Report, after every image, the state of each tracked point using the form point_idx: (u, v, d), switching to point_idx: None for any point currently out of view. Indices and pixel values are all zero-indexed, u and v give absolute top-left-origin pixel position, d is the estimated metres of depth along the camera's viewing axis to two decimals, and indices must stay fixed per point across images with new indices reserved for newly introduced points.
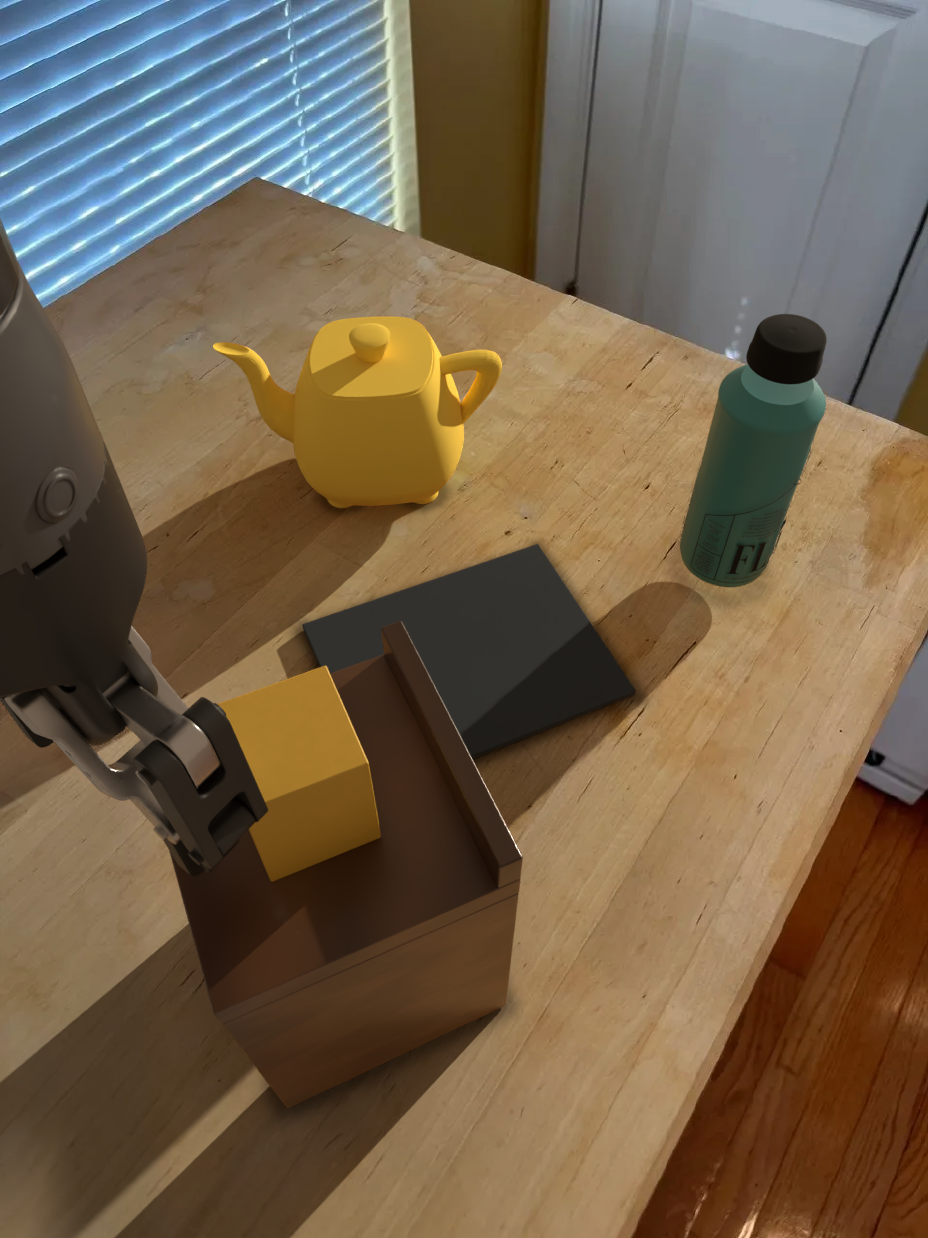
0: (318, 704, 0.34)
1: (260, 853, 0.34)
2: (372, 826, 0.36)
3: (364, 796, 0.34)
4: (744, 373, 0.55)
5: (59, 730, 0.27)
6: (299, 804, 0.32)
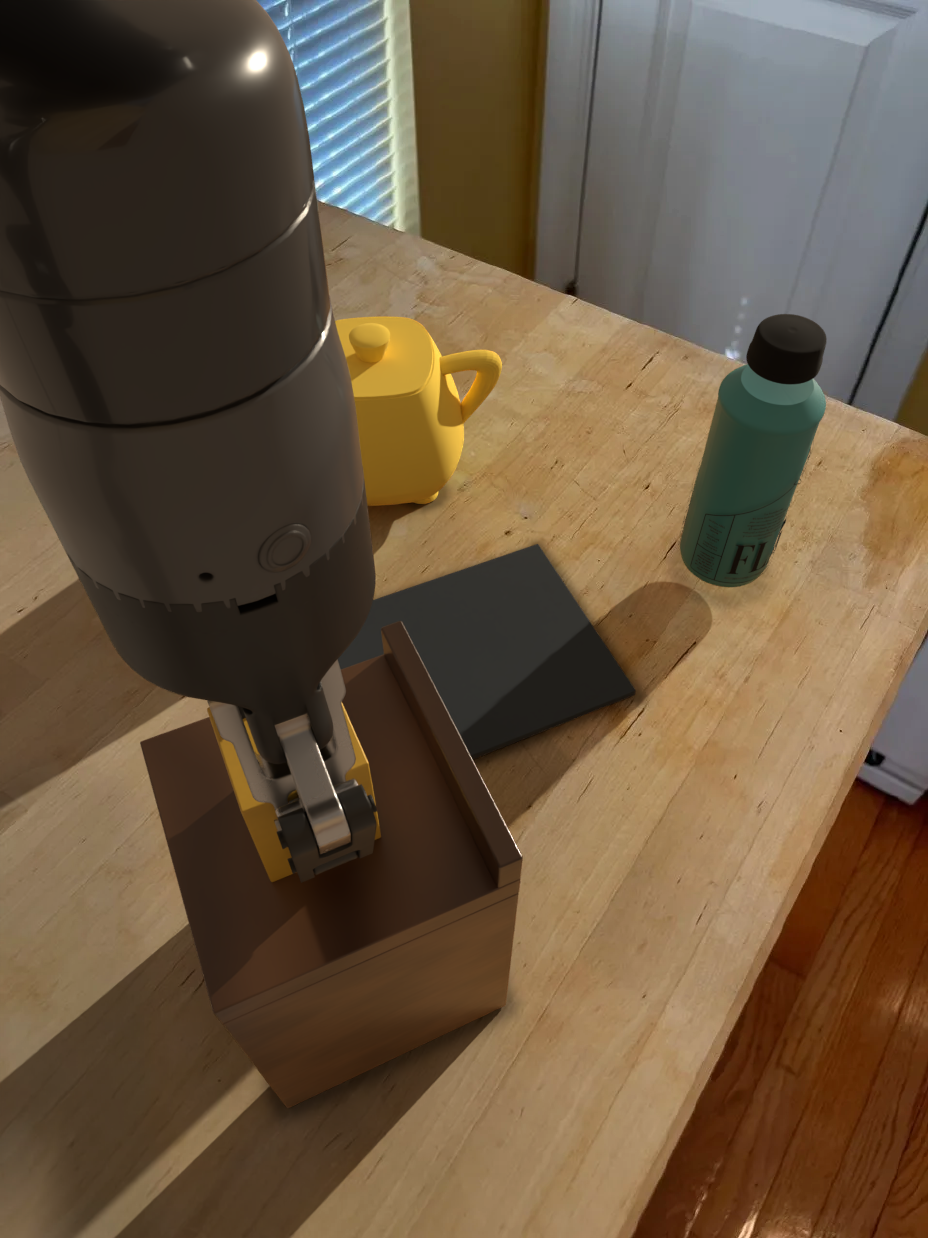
0: None
1: (260, 853, 0.34)
2: None
3: None
4: (744, 373, 0.55)
5: (235, 735, 0.28)
6: None
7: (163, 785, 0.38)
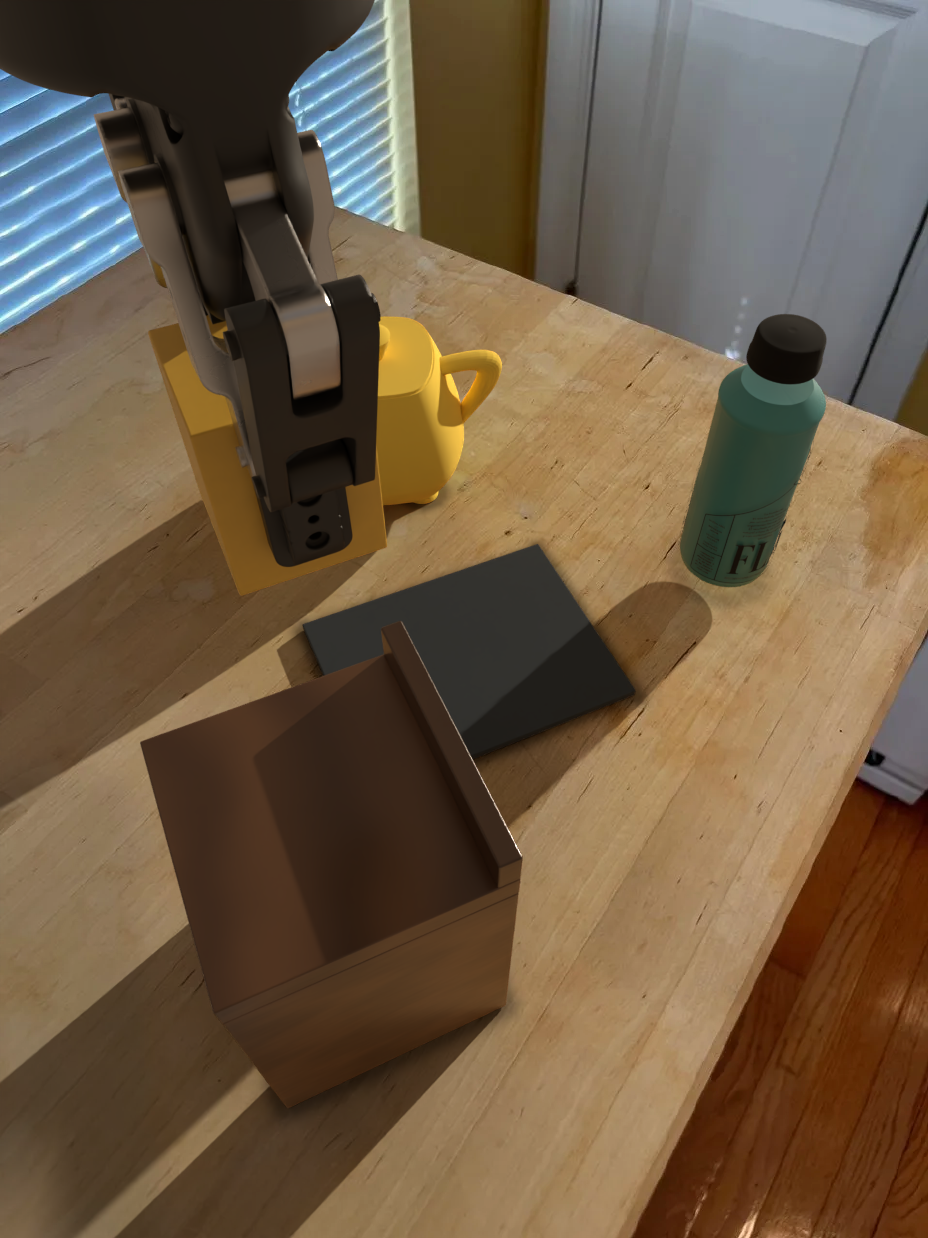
0: None
1: (222, 533, 0.25)
2: (375, 521, 0.27)
3: None
4: (744, 373, 0.55)
5: (169, 255, 0.19)
6: None
7: (163, 785, 0.38)
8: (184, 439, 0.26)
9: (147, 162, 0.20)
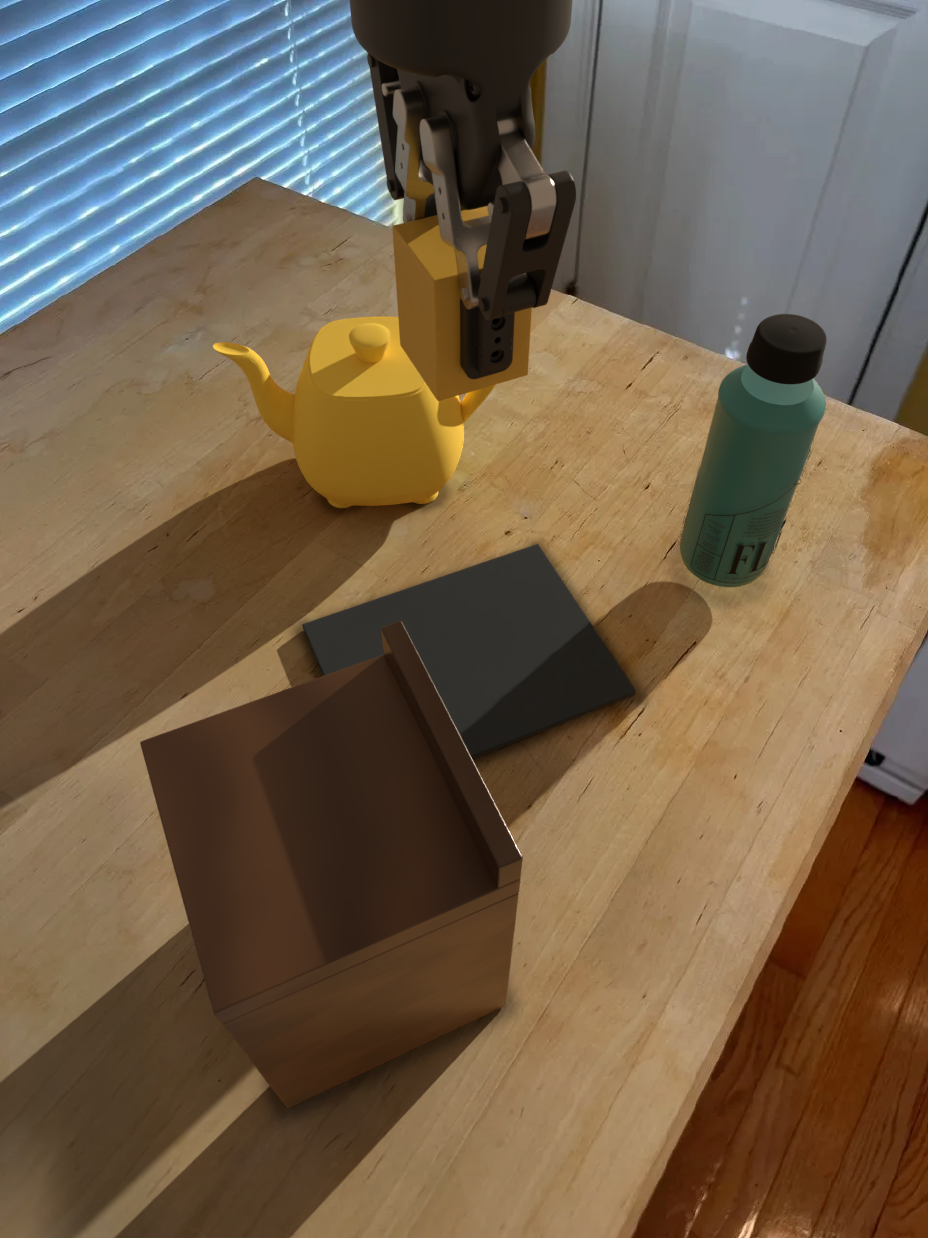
0: None
1: (437, 351, 0.40)
2: (523, 353, 0.42)
3: None
4: (744, 373, 0.55)
5: (446, 166, 0.34)
6: None
7: (163, 785, 0.38)
8: (407, 297, 0.41)
9: (423, 117, 0.35)
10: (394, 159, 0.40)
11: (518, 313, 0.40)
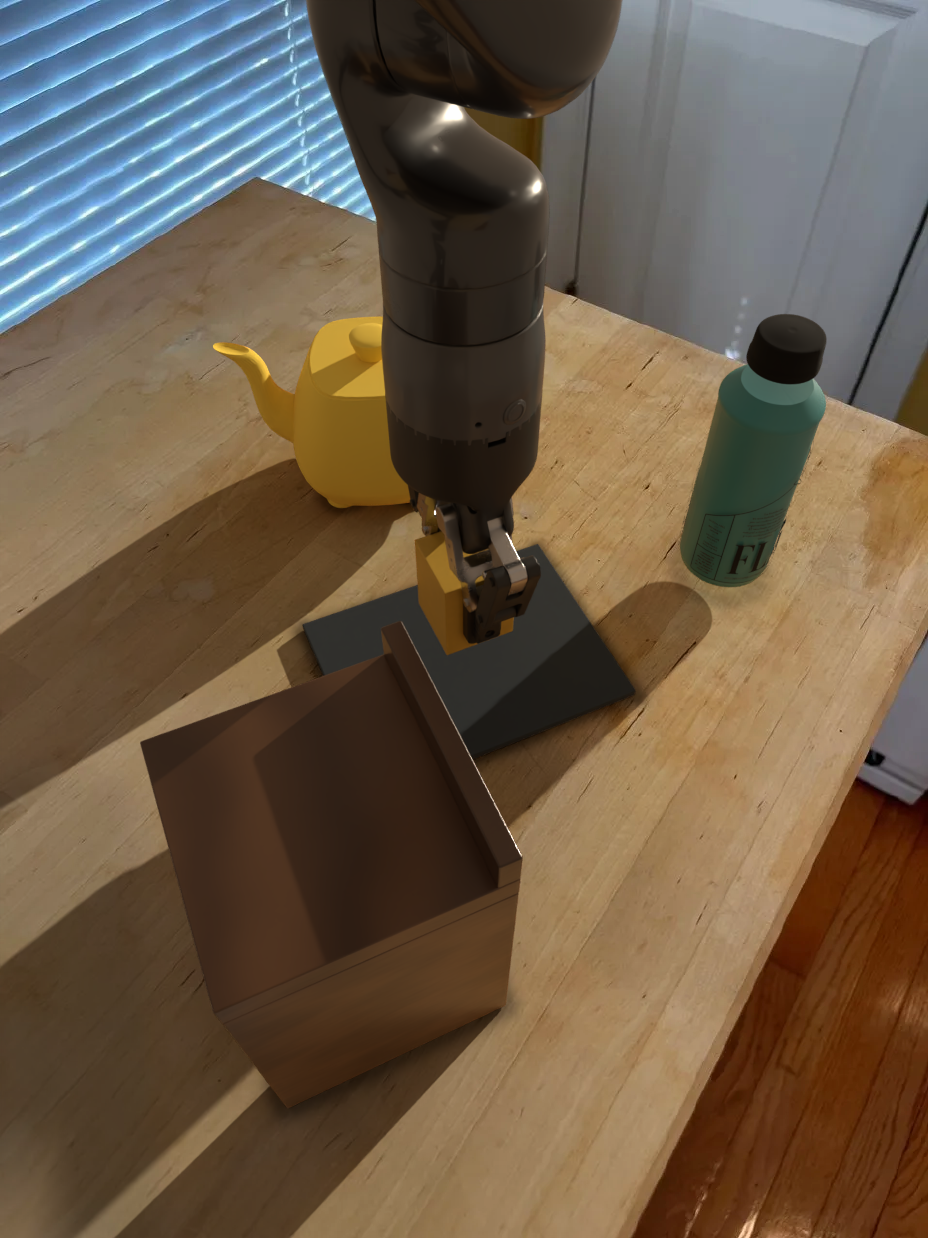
0: None
1: (446, 629, 0.55)
2: (509, 620, 0.57)
3: None
4: (744, 373, 0.55)
5: (454, 536, 0.49)
6: None
7: (163, 785, 0.38)
8: (425, 584, 0.56)
9: None
10: None
11: None
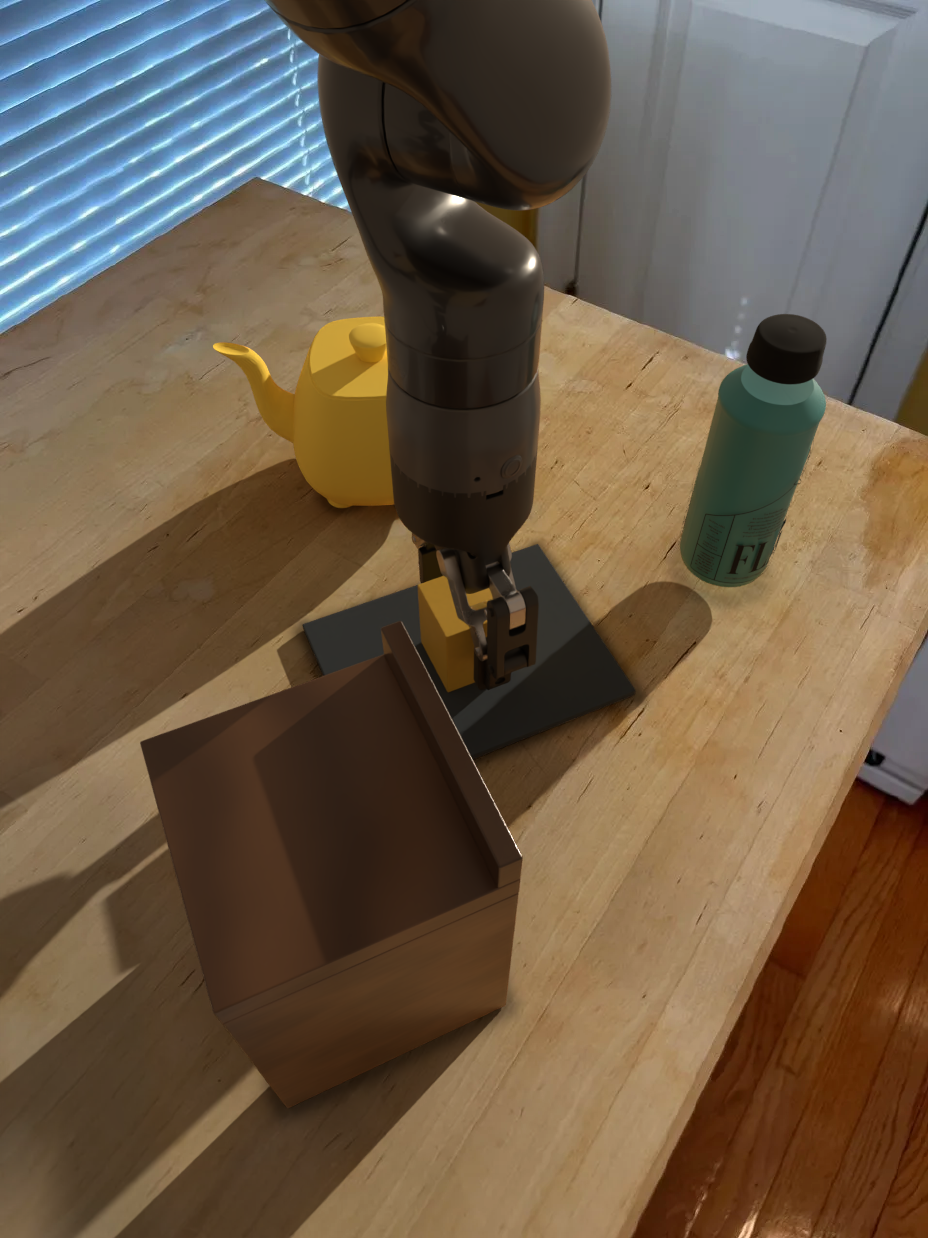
0: None
1: (447, 669, 0.58)
2: None
3: None
4: (744, 373, 0.55)
5: (455, 576, 0.51)
6: None
7: (163, 785, 0.38)
8: (427, 626, 0.59)
9: None
10: None
11: None
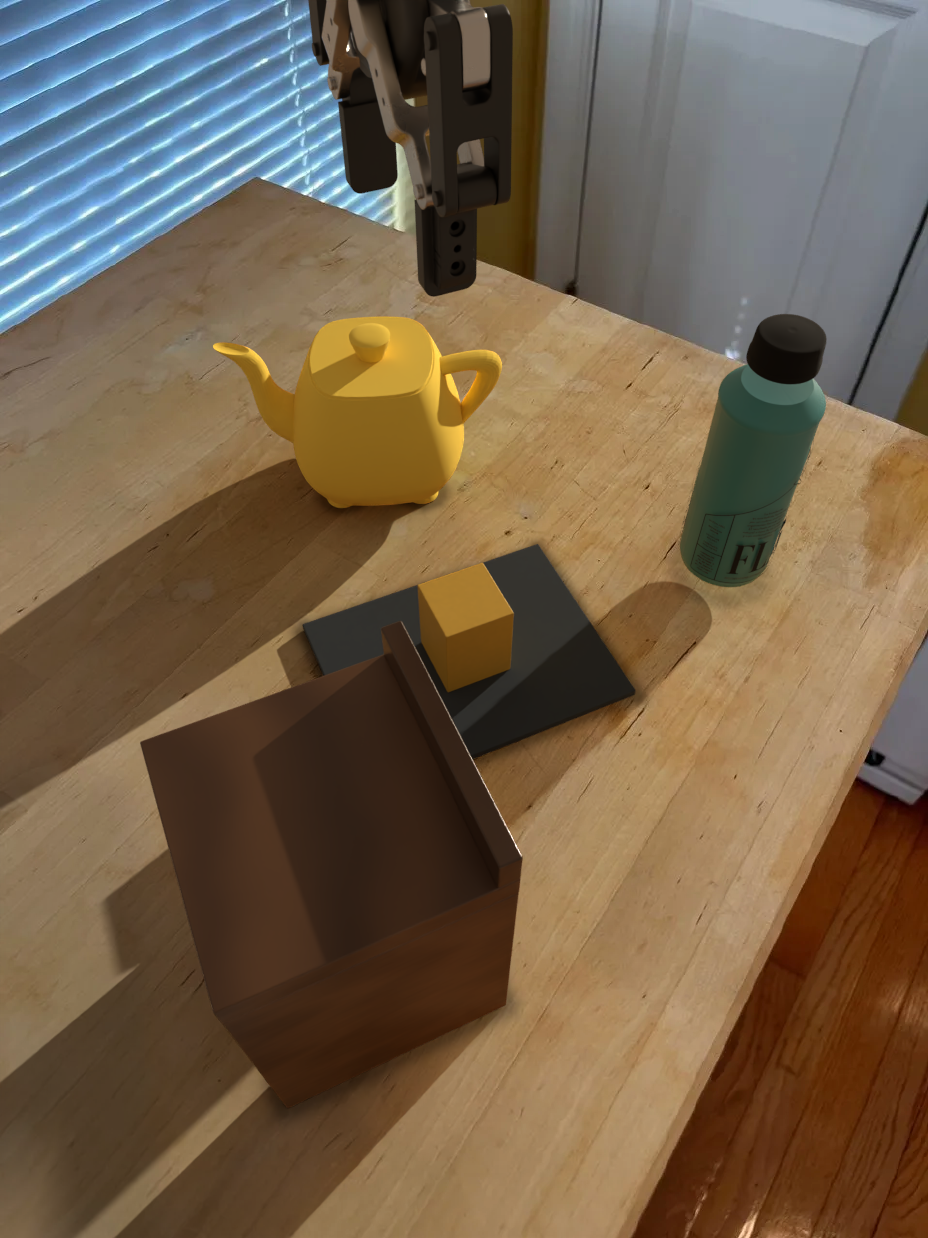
0: (481, 583, 0.58)
1: (447, 669, 0.58)
2: (507, 659, 0.60)
3: (507, 636, 0.58)
4: (744, 373, 0.55)
5: (377, 36, 0.31)
6: (474, 636, 0.57)
7: (163, 785, 0.38)
8: (427, 626, 0.59)
9: None
10: (321, 25, 0.38)
11: (503, 641, 0.59)
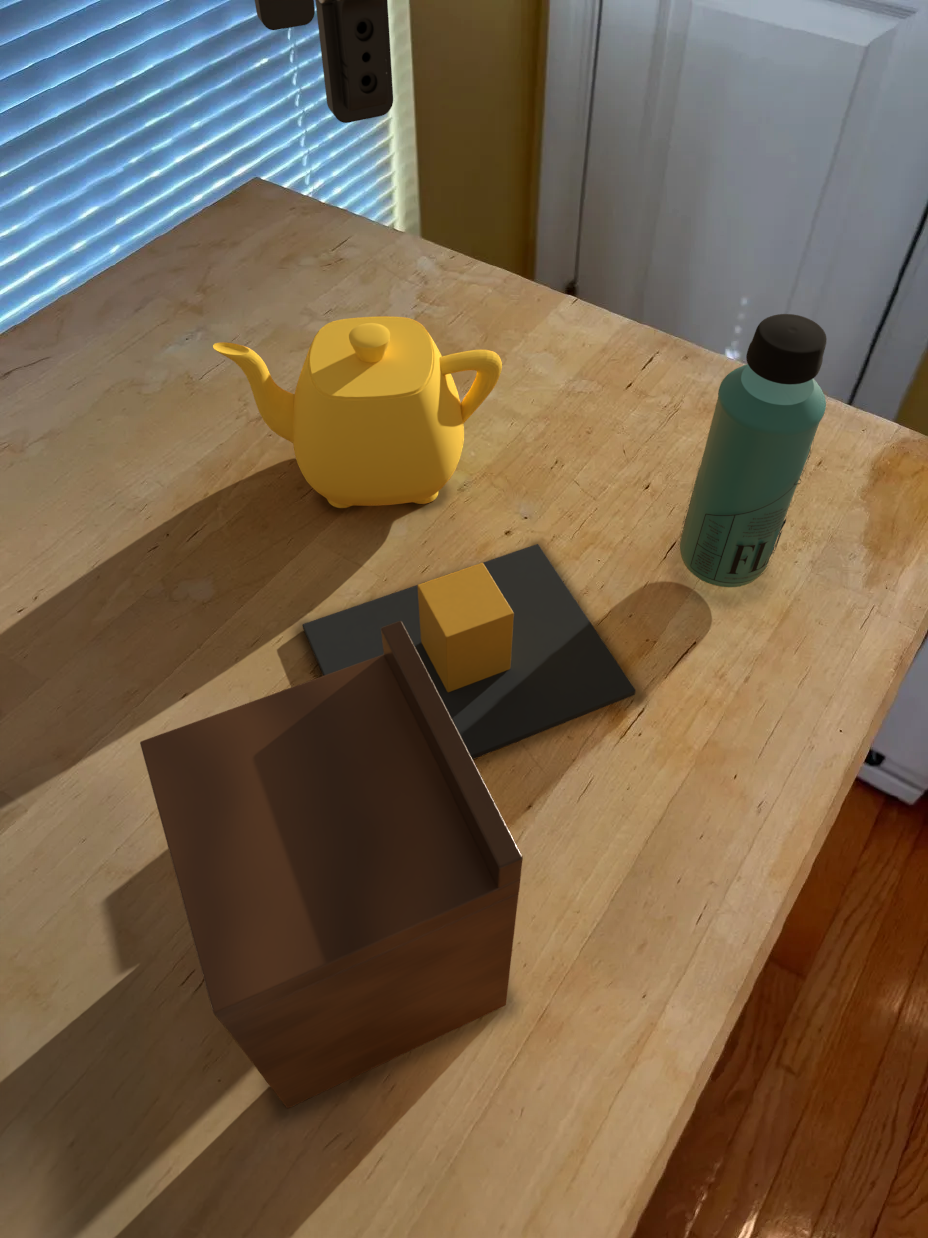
0: (481, 583, 0.58)
1: (447, 669, 0.58)
2: (507, 659, 0.60)
3: (507, 636, 0.58)
4: (744, 373, 0.55)
5: None
6: (474, 636, 0.57)
7: (163, 785, 0.38)
8: (427, 626, 0.59)
9: None
10: None
11: (503, 641, 0.59)
